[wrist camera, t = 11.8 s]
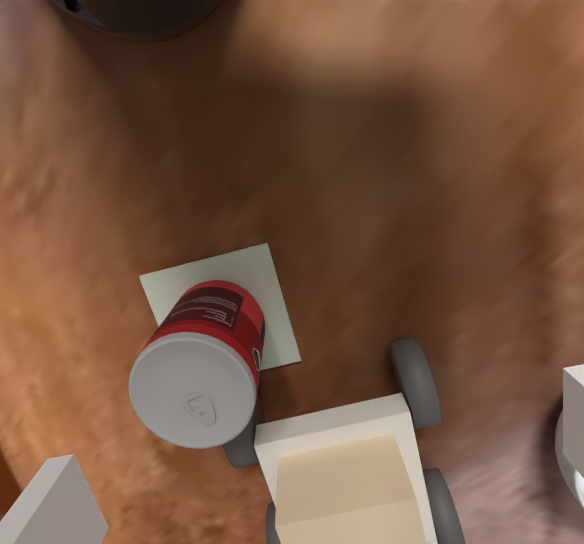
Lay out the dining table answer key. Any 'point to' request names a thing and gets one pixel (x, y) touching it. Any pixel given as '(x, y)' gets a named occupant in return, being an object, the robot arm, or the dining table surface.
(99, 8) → the robot arm
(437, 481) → the trolley
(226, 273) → the mat
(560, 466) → the cereal bowl
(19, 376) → the dining table surface
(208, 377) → the canned food
